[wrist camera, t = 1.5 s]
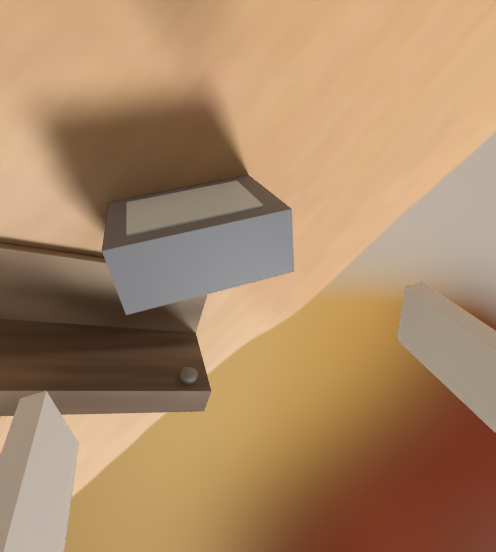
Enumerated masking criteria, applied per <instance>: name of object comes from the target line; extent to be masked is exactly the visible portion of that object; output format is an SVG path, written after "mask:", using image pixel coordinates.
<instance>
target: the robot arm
mask: <svg viewBox="0 0 496 552" xmlns="http://www.w3.org/2000/svg"><path fill="white" fill-rule="evenodd" d="M397 340H398V341H399V342H400V343H401V344H402V345H403V346H404V347H405V348H406V349H407V350H409V351H410V352H411V353H412V354H413V355H414V356H415V357H416V358H417V359H418V360H419V361H420V362H421V363H422V364H423V365H424V366H425V367H427V368H428V369H429V370H430V371H431V372H432V373H433V374H434V375H435V376H436V377H437V378H438V379H439V380H440V381H441V382H442V383H443V384H444V385H445V386H447V387H448V388H449V389H450V390H451V391H452V392H453V393H454V394H455V395H456V396H457V397H458V398H459V399H460V400H461V401H462V402H464V403H465V404H466V405H467V406H468V407H469V408H470V409H471V410H472V411H473V412H474V413H475V414H476V415H477V416H478V417H479V418H480V419H481V420H482V421H484V422H485V423H486V424H487V425H488V426H489V427H490V428H491V429H492V430H493V431H494V432H495V433H496V331H495V330H493V329H492V328H490V327H489V326H487V325H486V324H484V323H483V322H481V321H480V320H478V319H477V318H475V317H474V316H472V315H471V314H469V313H468V312H466V311H465V310H464V309H462V308H461V307H459V306H458V305H456V304H454V303H453V302H451V301H450V300H448V299H447V298H446V297H444V296H443V295H441V294H440V293H438V292H436V291H435V290H434V289H432V288H431V287H429V286H428V285H426V284H425V283H423V282H419V283H415V284H412V285H409V286H405V292H404V298H403V304H402V311H401V318H400V324H399V330H398V337H397ZM78 445H79V443H78V441H77V440H76V438H75V436H74V435H73V433H72V431H71V430H70V428H69V427H68V425H67V423H66V422H65V420H64V418H63V417H62V415H61V414H60V412H59V410H58V409H57V407H56V405H55V404H54V402H53V401H52V399H51V397H50V396H49V394H48V392H47V391H44V392H41V393H37V394H34V395H30V396H27V397H23V398H20V400H19V403H18V406H17V409H16V412H15V415H14V418H13V420H12V423H11V426H10V429H9V432H8V435H7V438H6V441H5V444H4V446H3V449H2V452H1V455H0V552H64V546H65V539H66V531H67V524H68V516H69V509H70V502H71V495H72V488H73V481H74V474H75V466H76V459H77V452H78Z"/></svg>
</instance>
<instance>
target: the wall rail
mask: <svg viewBox="0 0 496 552" xmlns="http://www.w3.org/2000/svg"><path fill="white" fill-rule="evenodd" d="M206 297H207V294H206V295H202V296H198V297H194V298H190V299H186V300H183V301H179V302H175V303H171V304H167V305H163V306H159V307H156V308H152V309H148V310H144V311H140V312H136V313H133V314H129V315H126V314H125V311H124V308H123V306H122V303H121V301H120V298H119V295H118V293H117V290H116V287H115V285H114V282H113V279H112V277H111V274H110V271H109V269H108V266H107V263H106V261H105V258H102V257H95V256H88V255H81V254H75V253H68V252H61V251H54V250H47V249H40V248H34V247H27V246H20V245H13V244H6V243H0V416H14V415H15V412H16V409H17V406H18V403H19V400H20V398H23V397H27V396H30V395H34V394H37V393H41V392H44V391H47V392H48V394H49V396H50V397H51V399H52V401H53V402H54V404H55V405H56V407H57V409H58V410H59V412H60V414H61V415H65V414H109V413H152V412H195V411H204V410H205V407H206V404H207V402H208V399H209V396H210V393H211V389H210V385H209V381H208V377H207V374H206V370H205V366H204V362H203V359H202V355H201V351H200V348H199V344H198V340H197V336H196V330H197V326H198V323H199V320H200V316H201V313H202V310H203V307H204V303H205V300H206Z"/></svg>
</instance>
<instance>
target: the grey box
mask: <svg viewBox="0 0 496 552" xmlns="http://www.w3.org/2000/svg"><path fill="white" fill-rule="evenodd" d="M102 253H103V256H104V258H105V261H106V263H107V266H108V269H109V271H110V274H111V277H112V279H113V282H114V285H115V287H116V290H117V293H118V295H119V298H120V301H121V303H122V306H123V308H124V311H125V314H126V315H129V314H133V313H136V312H140V311H144V310H148V309H152V308H156V307H159V306H163V305H167V304H171V303H175V302H179V301H183V300H186V299H190V298H194V297H198V296H202V295H206V294H209V293H213V292H217V291H221V290H225V289H229V288H233V287H236V286H240V285H244V284H248V283H252V282H256V281H259V280H263V279H267V278H271V277H275V276H279V275H282V274H286V273H290V272H294V256H293V232H292V209H291V208H290V207H288V206H287V205H286V204H285V203H283V202H282V201H281V200H279V199H278V198H277V197H276V196H274V195H273V194H272V193H271V192H269V191H268V190H267V189H266V188H264V187H263V186H262V185H261V184H259V183H258V182H257V181H255V180H254V179H253V178H252V177H250V176H249V175H246V176H241V177H236V178H231V179H226V180H221V181H215V182H210V183H205V184H200V185H195V186H190V187H184V188H179V189H174V190H169V191H164V192H159V193H154V194H148V195H143V196H138V197H133V198H128V199H123V200H118V201H112V202H109V206H108V212H107V219H106V226H105V233H104V239H103V246H102Z"/></svg>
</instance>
